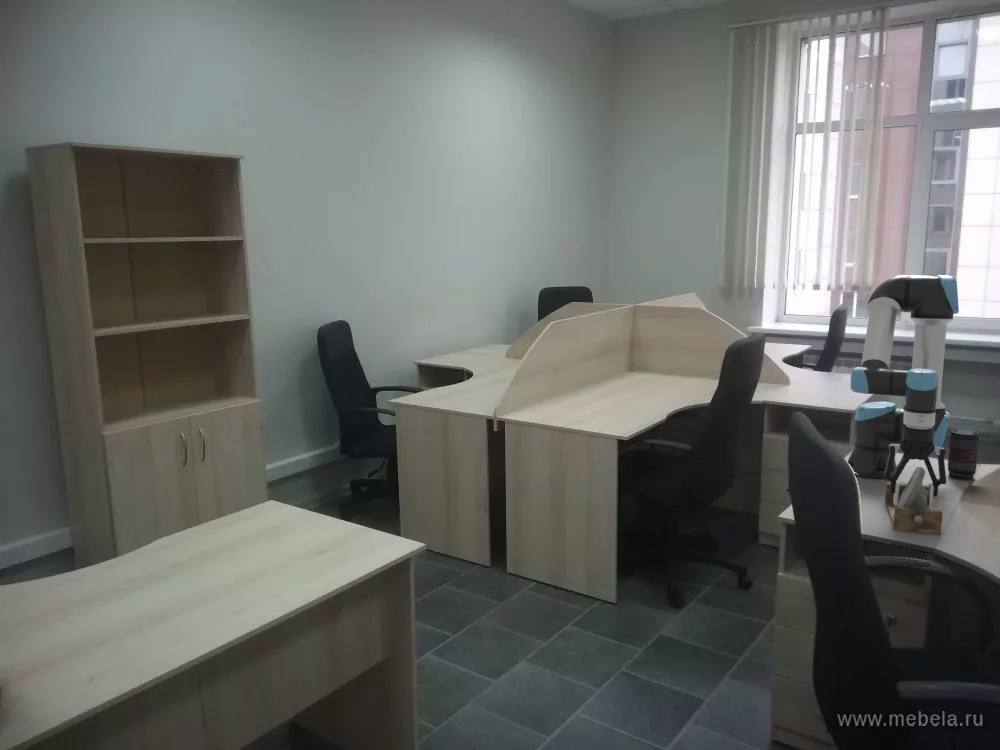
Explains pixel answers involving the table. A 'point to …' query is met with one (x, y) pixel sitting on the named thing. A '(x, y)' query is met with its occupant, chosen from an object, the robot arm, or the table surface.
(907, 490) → the digital clock
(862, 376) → the robot arm
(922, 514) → the walnut holder
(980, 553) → the table surface
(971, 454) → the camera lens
